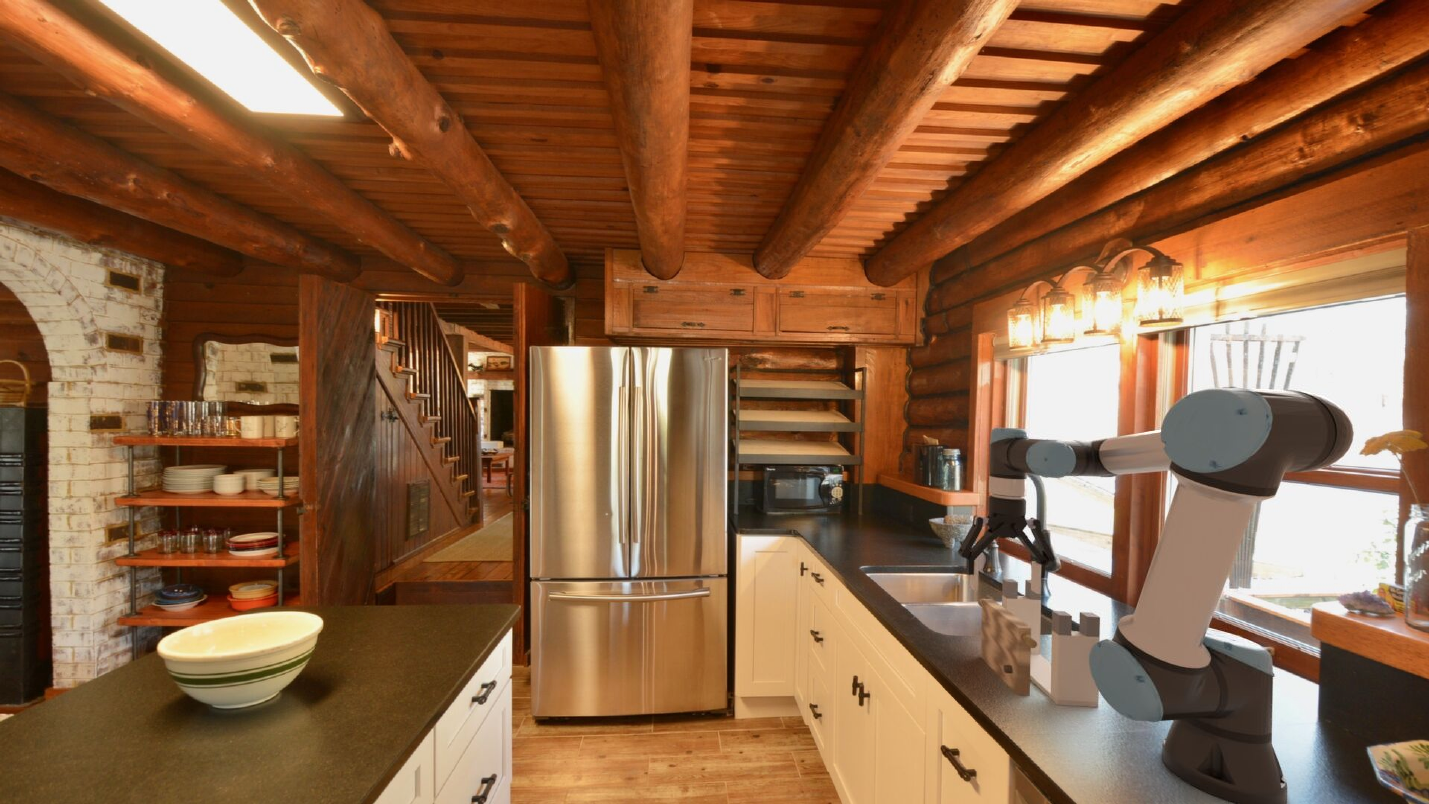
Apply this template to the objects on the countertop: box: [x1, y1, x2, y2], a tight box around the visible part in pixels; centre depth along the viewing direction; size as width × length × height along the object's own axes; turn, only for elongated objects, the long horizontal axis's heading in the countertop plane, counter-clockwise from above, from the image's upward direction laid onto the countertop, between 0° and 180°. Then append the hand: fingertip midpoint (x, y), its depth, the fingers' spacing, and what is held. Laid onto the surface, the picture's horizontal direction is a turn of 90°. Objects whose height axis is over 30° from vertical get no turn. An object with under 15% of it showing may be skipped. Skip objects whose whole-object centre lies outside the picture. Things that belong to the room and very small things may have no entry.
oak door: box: [977, 598, 1037, 696], centre depth 125 cm, size 25×4×14 cm, turn 177°
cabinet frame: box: [1001, 578, 1101, 708], centre depth 124 cm, size 25×8×18 cm, turn 177°
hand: (1004, 590), depth 125 cm, fingers open, 13 cm apart
